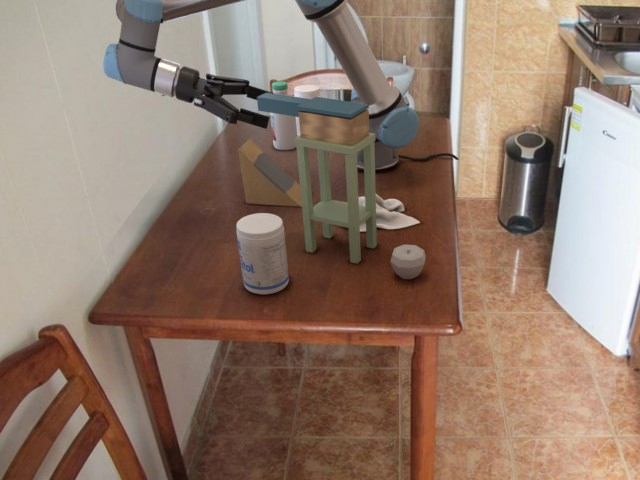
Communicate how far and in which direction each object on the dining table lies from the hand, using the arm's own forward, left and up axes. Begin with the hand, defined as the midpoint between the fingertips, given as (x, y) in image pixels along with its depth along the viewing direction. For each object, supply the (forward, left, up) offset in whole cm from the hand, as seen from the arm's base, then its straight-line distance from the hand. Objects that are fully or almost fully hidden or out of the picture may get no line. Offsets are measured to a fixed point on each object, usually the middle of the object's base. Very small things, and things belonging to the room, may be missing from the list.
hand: (271, 111), depth 154 cm
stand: (-8, +22, -27) cm, 36 cm away
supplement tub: (+12, +31, -27) cm, 43 cm away
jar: (-26, -58, -27) cm, 69 cm away
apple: (-17, +40, -27) cm, 51 cm away
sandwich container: (-2, -11, -27) cm, 30 cm away
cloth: (-22, +10, -27) cm, 36 cm away
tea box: (-8, +22, 0) cm, 23 cm away
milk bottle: (-15, -49, -27) cm, 58 cm away
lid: (-4, +17, +3) cm, 18 cm away
